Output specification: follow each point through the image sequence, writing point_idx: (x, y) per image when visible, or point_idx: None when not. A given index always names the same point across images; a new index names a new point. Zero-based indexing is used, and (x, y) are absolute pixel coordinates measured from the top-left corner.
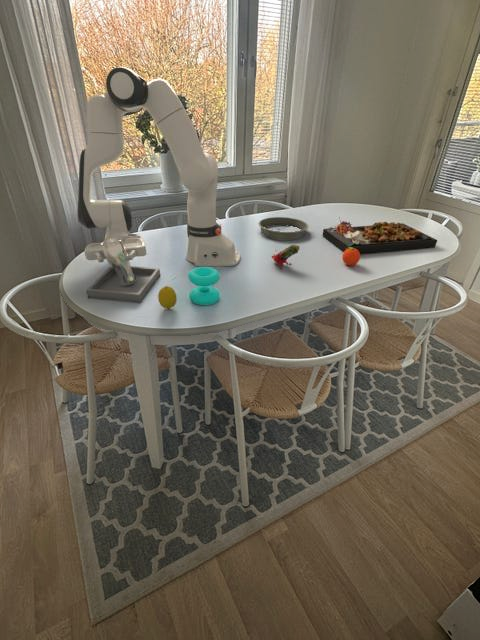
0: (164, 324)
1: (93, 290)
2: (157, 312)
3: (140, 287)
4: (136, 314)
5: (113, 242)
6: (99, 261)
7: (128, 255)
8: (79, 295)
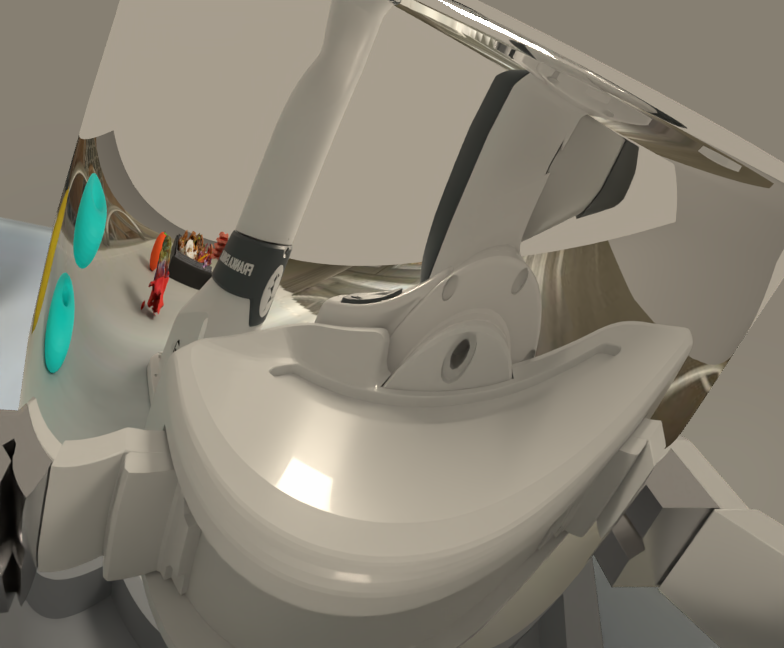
0: (29, 242)
1: None
2: (17, 311)
3: (4, 615)
4: None
5: (533, 328)
6: None
7: (12, 411)
8: (658, 619)
